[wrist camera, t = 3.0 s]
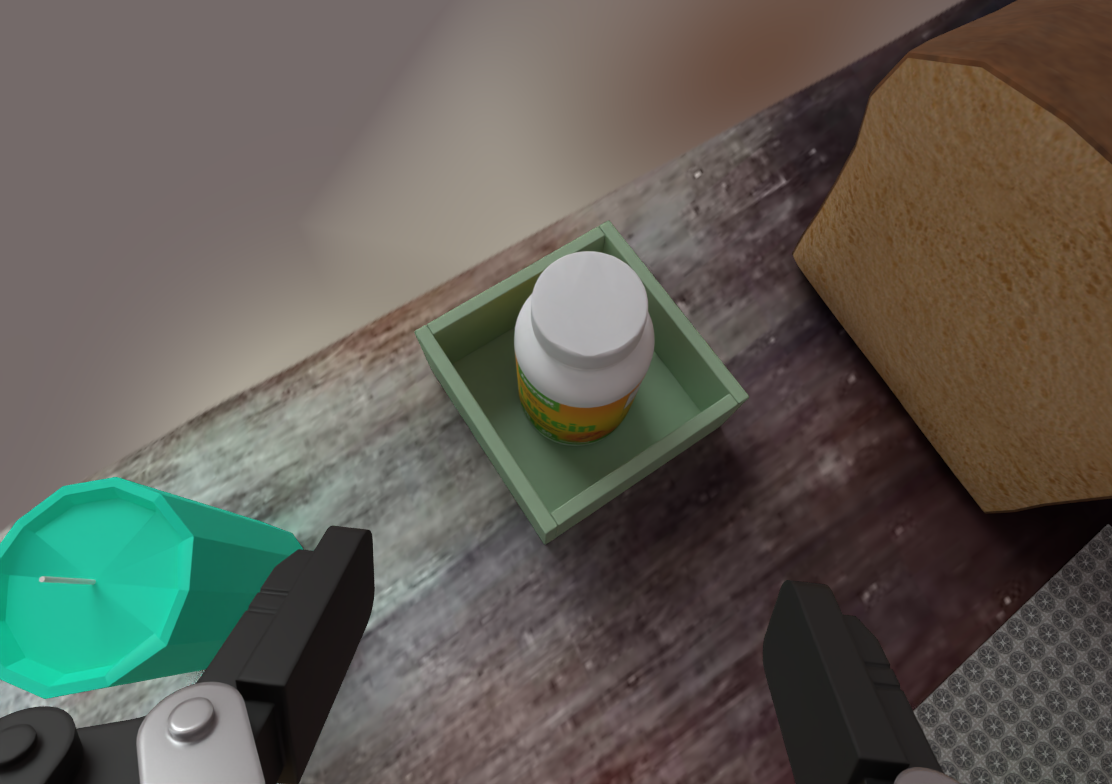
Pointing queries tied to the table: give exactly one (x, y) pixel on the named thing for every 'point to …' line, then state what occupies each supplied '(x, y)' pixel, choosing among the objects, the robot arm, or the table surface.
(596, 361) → the supplement bottle
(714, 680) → the table surface
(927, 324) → the bread
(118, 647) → the candle
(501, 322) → the basket
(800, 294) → the table surface
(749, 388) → the table surface
